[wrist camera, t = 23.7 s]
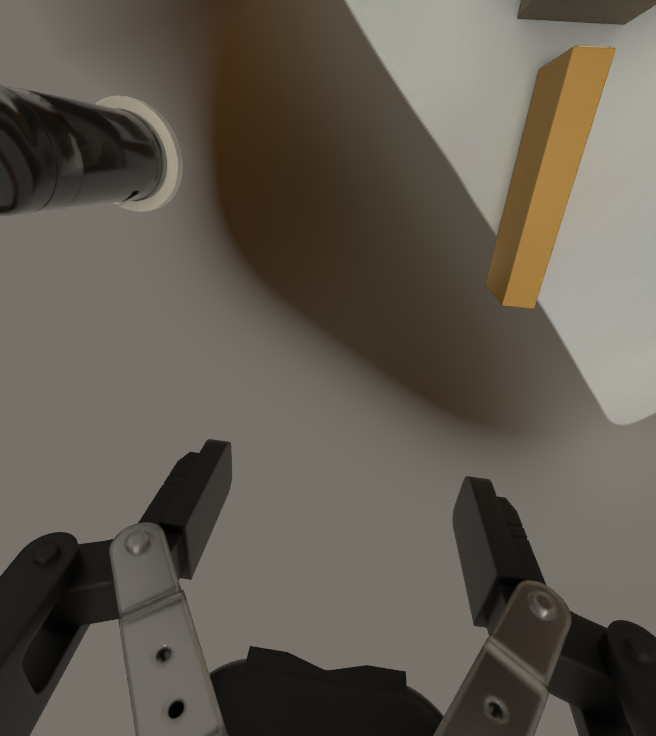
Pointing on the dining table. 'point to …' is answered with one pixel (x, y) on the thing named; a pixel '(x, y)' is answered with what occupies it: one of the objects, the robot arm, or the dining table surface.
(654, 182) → the dining table surface
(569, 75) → the mustard yellow plank
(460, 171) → the dining table surface
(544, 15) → the dark brown tall slab
